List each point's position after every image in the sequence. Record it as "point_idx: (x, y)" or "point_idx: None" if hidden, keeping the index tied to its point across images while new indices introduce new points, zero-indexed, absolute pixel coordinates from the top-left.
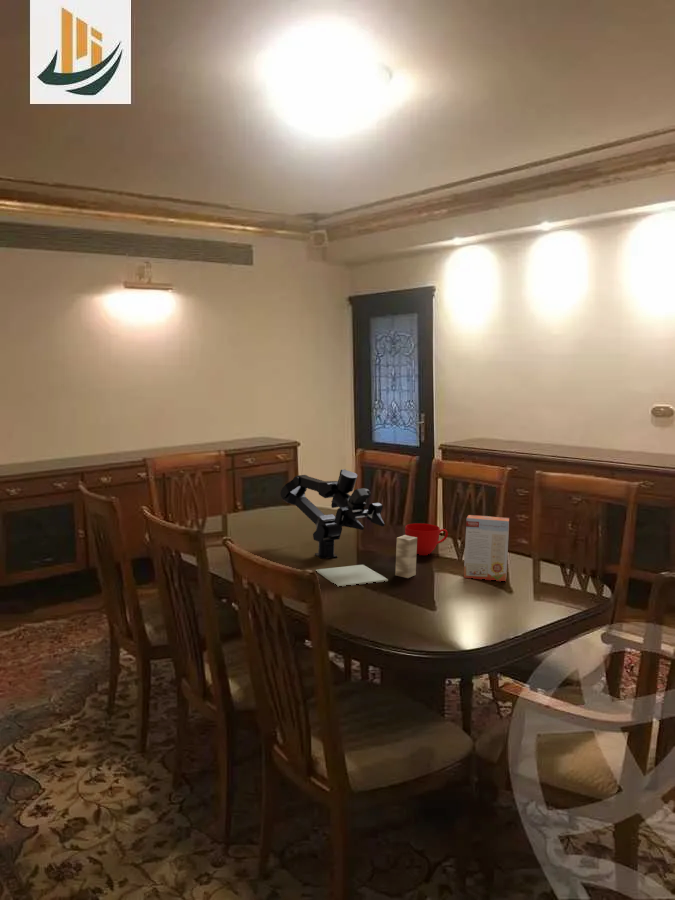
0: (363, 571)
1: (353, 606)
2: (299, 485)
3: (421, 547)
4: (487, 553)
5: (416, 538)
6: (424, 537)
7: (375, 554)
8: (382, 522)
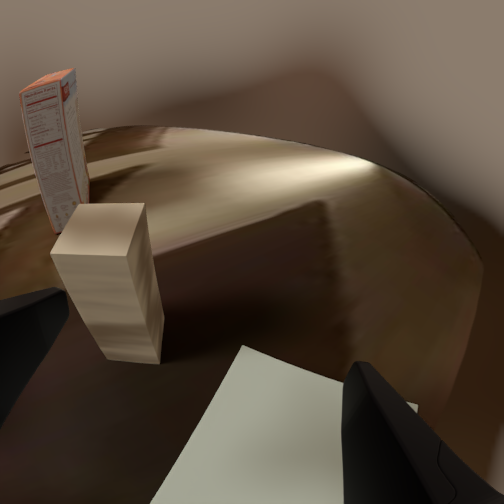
0: (228, 468)
1: (439, 292)
2: None
3: None
4: (79, 145)
5: (85, 206)
6: None
7: None
8: (50, 296)
